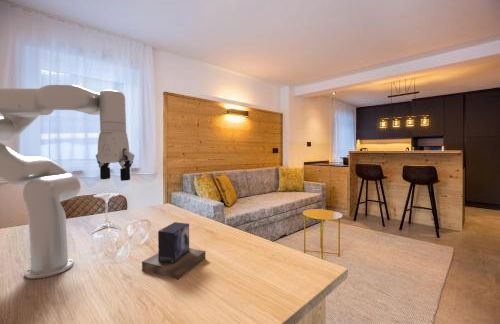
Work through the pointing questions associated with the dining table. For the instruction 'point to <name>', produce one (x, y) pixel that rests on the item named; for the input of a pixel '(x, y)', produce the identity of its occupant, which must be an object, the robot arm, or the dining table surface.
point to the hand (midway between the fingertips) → (115, 179)
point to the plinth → (174, 264)
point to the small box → (173, 242)
